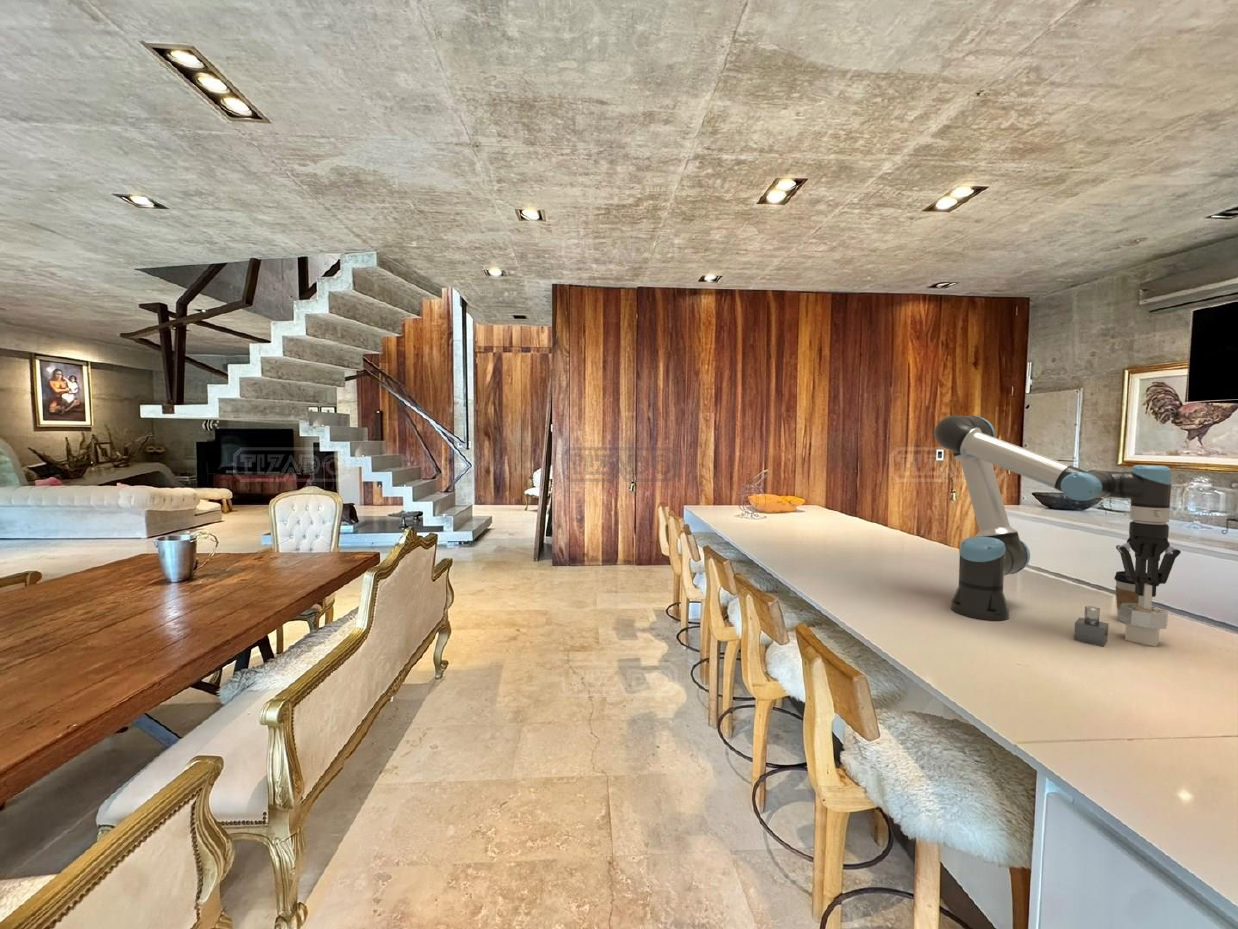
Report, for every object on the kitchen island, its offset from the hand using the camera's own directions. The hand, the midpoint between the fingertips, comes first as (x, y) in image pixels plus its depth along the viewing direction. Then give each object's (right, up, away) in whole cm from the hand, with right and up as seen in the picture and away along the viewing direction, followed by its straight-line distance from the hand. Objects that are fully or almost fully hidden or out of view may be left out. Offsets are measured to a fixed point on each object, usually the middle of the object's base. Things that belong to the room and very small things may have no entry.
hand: (1144, 607), depth 143 cm
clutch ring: (0, -4, 0) cm, 4 cm away
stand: (-14, -9, +1) cm, 17 cm away
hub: (0, -9, +1) cm, 9 cm away
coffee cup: (+11, -9, +15) cm, 21 cm away
